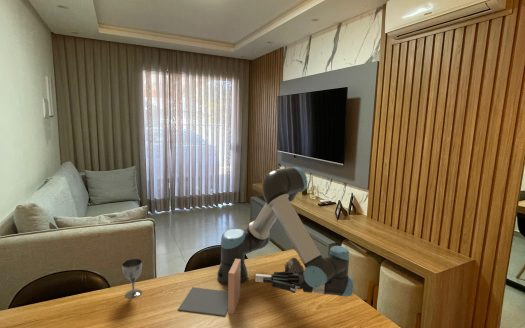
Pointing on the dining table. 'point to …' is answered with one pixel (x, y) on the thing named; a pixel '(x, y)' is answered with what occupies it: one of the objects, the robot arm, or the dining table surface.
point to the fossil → (294, 266)
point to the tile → (234, 286)
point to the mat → (206, 301)
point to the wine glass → (132, 275)
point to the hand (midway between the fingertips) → (255, 277)
